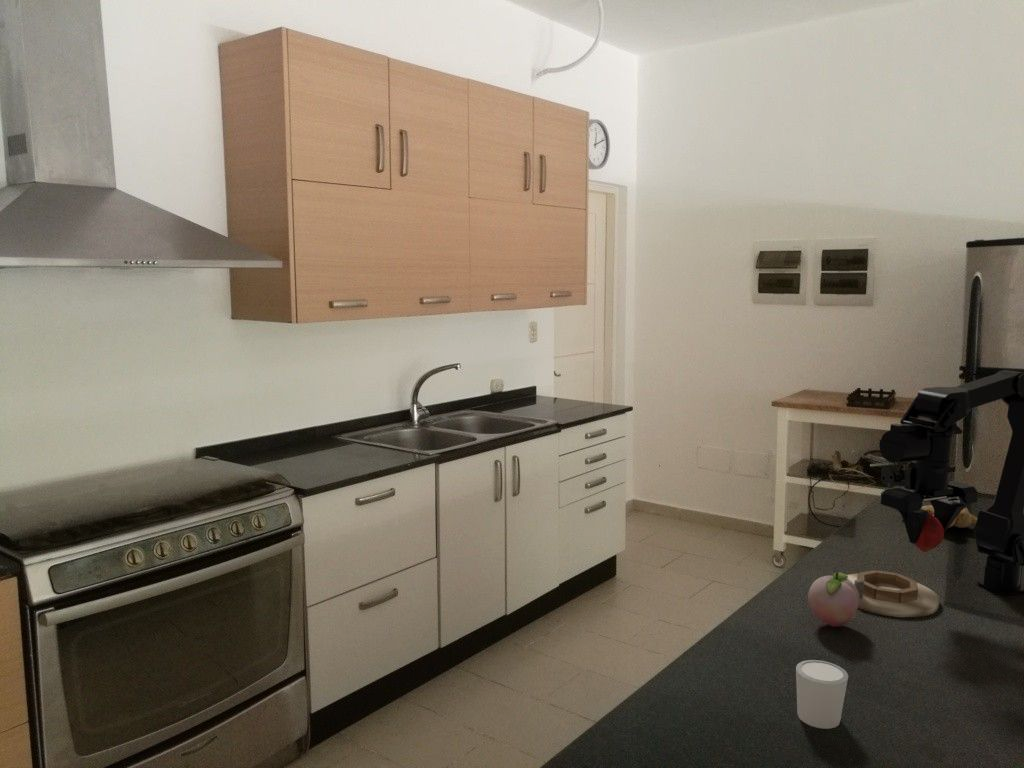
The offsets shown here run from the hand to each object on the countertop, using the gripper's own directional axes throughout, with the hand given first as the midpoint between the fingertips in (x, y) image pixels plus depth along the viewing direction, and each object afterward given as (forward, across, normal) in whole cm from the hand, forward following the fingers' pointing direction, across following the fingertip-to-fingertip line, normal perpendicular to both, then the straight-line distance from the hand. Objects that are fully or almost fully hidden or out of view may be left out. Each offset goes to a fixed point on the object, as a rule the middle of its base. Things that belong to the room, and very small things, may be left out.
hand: (925, 541), depth 153 cm
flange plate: (+12, +3, -5) cm, 14 cm away
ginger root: (+12, -44, -30) cm, 55 cm away
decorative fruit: (+13, +22, +1) cm, 26 cm away
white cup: (+13, +46, +22) cm, 52 cm away
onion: (+2, 0, 0) cm, 2 cm away
